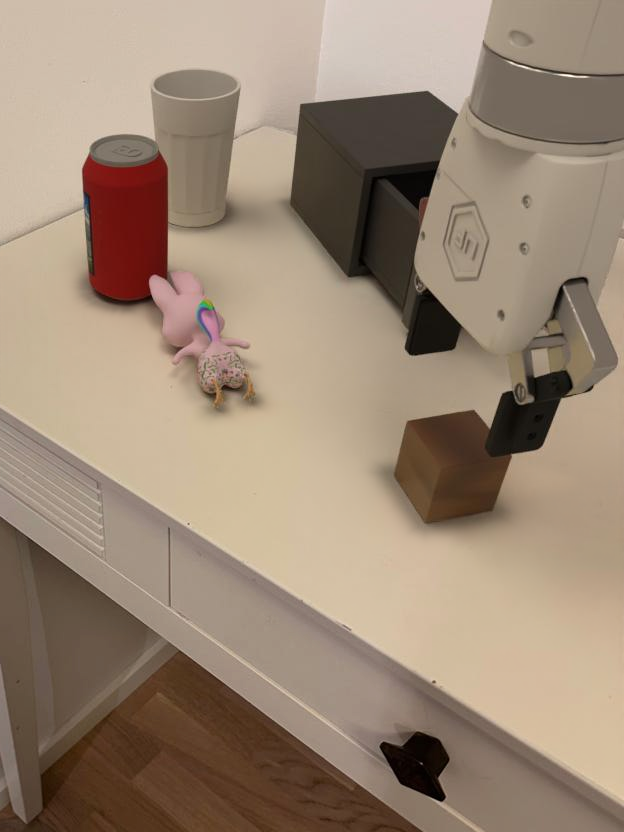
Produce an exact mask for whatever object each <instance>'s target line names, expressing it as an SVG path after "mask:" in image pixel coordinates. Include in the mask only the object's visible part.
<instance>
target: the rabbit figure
mask: <svg viewBox="0 0 624 832" xmlns="http://www.w3.org/2000/svg"><path fill="white" fill-rule="evenodd" d="M169 276H170V278H171V281H172V283H173V286H174V287H175V288H173V286H172V285H171V284H170V282H169V281H168V279H167V280H165V279H163V278H161V277H159V276H157V275H153V276H151V278H150V280H149V286H150V290H151V296H152V300H153V302H154V303H155V304H156V306H157V307H158V308H159V309H160V310H161V313H162V315H163V321H162V328H161V337H162V338H163V339H164V341H165V342H167V343H168V344H169V345H171V346H173V347H177V348H181V349H180V350H178V351H177V353H176V354H175V355H174V356H173V358H172V359H171V365H173V366H177V365H180V363H181V360H182V359H183V358H185V357H189V356H193V357H194V358H195V359H196V360H197V361H198V364H197V378H198V382H199V385H200V387H201V389H202V390H203V391H204V392H206V393H207V394H216V395H215V400H214V401H213V403H212V405H213V407H215V405H216V409H217V410H218V409H219V404H221V403H224V404H225V405H226V404H227V403H226V401H225V400H224V399H223V394H222V390H221V389H222V388H223V386H227V387H229V388H232V389H238V388H241V386H243V385H244V384H245V382H246V383H247V389H246V390H247V391H246V392H245V395H244V396H243V400H245V398H246V397H248V400H249V401H250V402H251V401H252V398H251V397H252V396H254V398H256V392H255V391H254V386H253V385H254V382H251V379H250V374H249V372H248V371H247V369H246V367H245V364H244V362H243V360H242V358H241V356H240V354H239V353H238V351H236V350H235V349H233V348H232V347H237V348H240V349H242V350H249V349H250V348H251V344H250V342H248V341H244V340H240V339H235V338H225V337H224V338H223V337H221V336H220V335H221V333H222V332H223V330H224V328H225V324H226V321H225V318H224V317H223V316H222V315H221V314H220V313H219V312H218V311H217V310H216V309H215V306H214V305H213V302H212V300H209V298H207V297H206V296H205V288H204V286H203V284H202V282H201V281H200V280H199V279H198V278H197V277H196V276H195V275H194V274H193V273H191V272H188V271H184V270H172V271H171V270H170V271H169ZM175 289H176V290H175ZM176 291H177V292H176ZM177 293H178V294H177Z"/></svg>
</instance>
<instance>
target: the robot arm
mask: <svg viewBox="0 0 624 832" xmlns="http://www.w3.org/2000/svg"><path fill="white" fill-rule="evenodd" d="M481 43H482V44H481V47H480V52H479V55H478V60H477V63H476V68H475V73H474V76H473V81H472V86H471V89H470V94H469V96H467V97H465V99H464V102H463V104H462V106H461V108H460V110H459V112H458V116H457V118H456V121H455V123H454V125H453V128H452V130H451V133H450V135H449V138H448V140H447V143H446V146H445V149H444V151H443V154H442V157H441V160H440V163H439V166H438V169H437V173H436V176H435V179H434V182H433V186H432V189H431V193H430V196H429V197H425V198H422V199H421V200H420V203H419V225H420V234H419V238H418V240H417V243H416V252H415V258H414V265H415V269H416V272H417V274H416V275H415V280H414V283H415V288H416V290H417V291H418V292H419V293H421V292H423V293H422V295H416V300H415V304H414V308H413V313H412V317H411V321H410V326H409V329H407V330H408V331H407V335H406V339H405V343H404V350H405V352H406V353H407V354H408V355H409V356H412V357H417V356H423V355H424V356H425V355H430V354H431V355H432V354H437V353H445V352H451V351H453V350H455V349H456V347H457V344H458V341H459V337H460V334H461V330H462V327H463V328H464V330H465V331H466V332H467V333H468V334H469V335H470V336H471V337H472V338H473V339H474V340H475V341H476V342H477V343H478V344H479V345H480V346H481V347H482V348H483V349H485V350H486V351H487V352H489V353H491V354H493V355H495V356H507V358H508V366H509V374H510V381H511V390H507V391H504V392H502V393H501V395H500V398H499V401H498V404H497V407H496V410H495V412H494V416H493V419H492V422H491V425H490V427H489V428H490V431H489V434H488V437H487V440H486V443H485V451H486V452H487V453H488V454H489V456H490V457H499V456H505V455H515V454H516V455H517V454H523V453H527V452H528V453H529V452H535V451H538V450H539V449H541V448H542V447H544V444H545V442H546V439H547V437H548V434H549V432H550V429H551V427H552V424H553V421H554V419H555V416H556V414H557V410H558V408H559V406H560V403H561V400H562V399H568V398H571V397H573V396H577V395H581V394H582V395H583V394H586V393H590V392H591V391H592V390H593V389H594V387H595V385H597V384H598V383H599V382H601V381H602V380H604V379H605V378H606V377H607V376H608V375H610V374H611V373H612V372H613V371H614V370H616V369H617V367H618V364H619V357H618V354H617V352H616V349H615V347H614V344H613V342H612V340H611V337H610V336H609V333H608V330H607V329H606V326H605V324H604V321H603V319H602V317H601V314H600V312H599V310H598V308H597V305H598V303H599V301H600V298H601V295H602V292H603V290H604V287H605V284H606V281H607V278H608V275H609V272H610V269H611V266H612V263H613V260H614V257H615V254H616V250H617V247H618V243H619V239H620V236H621V233H622V229H623V225H624V0H491V5H490V8H489V12H488V17H487V22H486V26H485V30H484V34H483V40H482V42H481ZM541 330H543V331H545V332H546V335H539V336H537V335H538V334H539V333H540V331H541ZM537 350H538V351H540V350H546V351H547V357H548V365H549V366H548V367H549V372H548V373H545V374H541V375H539V376H535V370H534V362H533V354H532V351H537Z"/></svg>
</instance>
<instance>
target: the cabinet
mask: <svg viewBox="0 0 624 832" xmlns="http://www.w3.org/2000/svg"><path fill="white" fill-rule="evenodd" d="M298 113H299V114H298V121H297V132H296V141H295V142H296V143H295V150H294V151H295V152H294V160H293V161H294V162H293V171H292V181H291V190H290V200H289V204H290V206H292V208H293V209H294V211H295V212H296V213H297V214H298V215H299V217H300V218H301V220H303V222H304V223H305V224H306V225H307V227H308V228H309V230H310V231H311V232H312V233H313V235H314V236H315V237H316V238H317V240H318V241H319V243H321V245H322V246H323V247H324V248H325V250H326V251H327V252H328V254H330V256H331V258H333V260H334V262H336V263H337V265H338V266H339V267H340V269H341V270H342V271H343V272H344V274H345V275H346V276H347V277H355V276H362V275H363V276H364V275H369V274H370V275H371V274H374V273H373V272H372V271H371V270H370V269H369V267H368V266H367V265H366V264H365V263H364V261H363V260H362V259H361V258H360V257H359V256H360V250H361V244H362V238H363V232H364V226H365V220H366V214H367V208H368V202H369V196H370V190H371V184H372V177H379V176H388V175H396V174H405V173H413V172H421V171H430V170H437V169H438V166H439V163H440V160H441V157H442V154H443V151H444V149H445V146H446V143H447V140H448V138H449V135H450V133H451V130H452V128H453V125H454V123H455V121H456V118H457V116H458V114H459V112H457V111H455V110H454V109H453V108H452V107H451V106H449V105H447V104H446V103H445V102H444V101H443V100H441V99H440V98H438V97H437V96H436V95H434V94H433V93H432V92H431V91H429V90H422V91H421V90H420V91H412V92H403V93H402V92H401V93H393V94H392V93H391V94H383V95H372V96H364V97H354V98H344V99H334V100H325V101H314V102H305V103H300V104H299V112H298Z"/></svg>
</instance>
